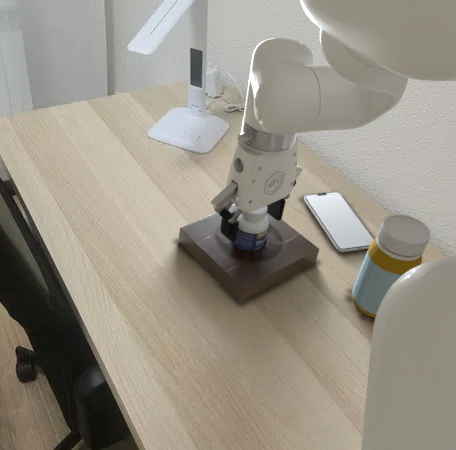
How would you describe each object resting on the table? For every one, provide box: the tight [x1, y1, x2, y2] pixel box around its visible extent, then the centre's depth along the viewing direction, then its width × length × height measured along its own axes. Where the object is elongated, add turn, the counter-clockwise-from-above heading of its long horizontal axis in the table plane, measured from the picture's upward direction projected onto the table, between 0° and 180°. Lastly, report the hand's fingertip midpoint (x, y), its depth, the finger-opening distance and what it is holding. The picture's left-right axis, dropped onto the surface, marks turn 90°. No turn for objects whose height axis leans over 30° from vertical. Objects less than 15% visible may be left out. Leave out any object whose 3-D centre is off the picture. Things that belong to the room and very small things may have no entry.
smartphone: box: [303, 191, 376, 253], centre depth 97 cm, size 7×1×15 cm
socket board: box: [178, 204, 320, 303], centre depth 90 cm, size 16×16×3 cm
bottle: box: [351, 213, 431, 319], centre depth 78 cm, size 7×7×15 cm
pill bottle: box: [232, 206, 269, 251], centre depth 88 cm, size 5×5×10 cm
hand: (251, 225), depth 87 cm, fingers open, 9 cm apart
